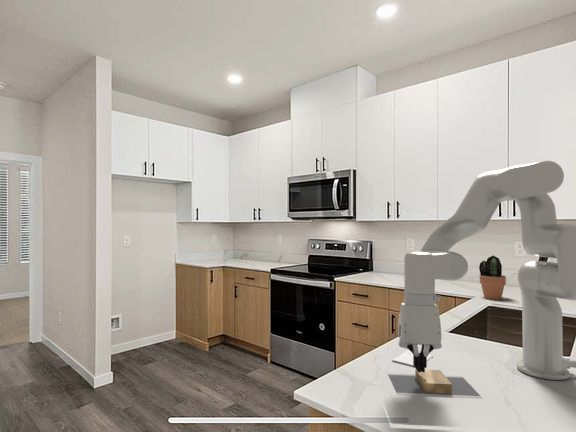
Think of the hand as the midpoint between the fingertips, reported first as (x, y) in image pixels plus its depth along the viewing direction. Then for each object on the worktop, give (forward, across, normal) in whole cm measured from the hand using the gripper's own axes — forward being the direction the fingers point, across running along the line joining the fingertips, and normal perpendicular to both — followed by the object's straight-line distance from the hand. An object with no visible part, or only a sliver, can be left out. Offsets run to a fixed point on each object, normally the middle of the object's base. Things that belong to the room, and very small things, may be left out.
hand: (419, 370), depth 96 cm
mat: (+4, -3, 0) cm, 5 cm away
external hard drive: (+5, -3, -19) cm, 20 cm away
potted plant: (+5, -75, -127) cm, 147 cm away
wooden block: (+3, 0, 0) cm, 3 cm away
